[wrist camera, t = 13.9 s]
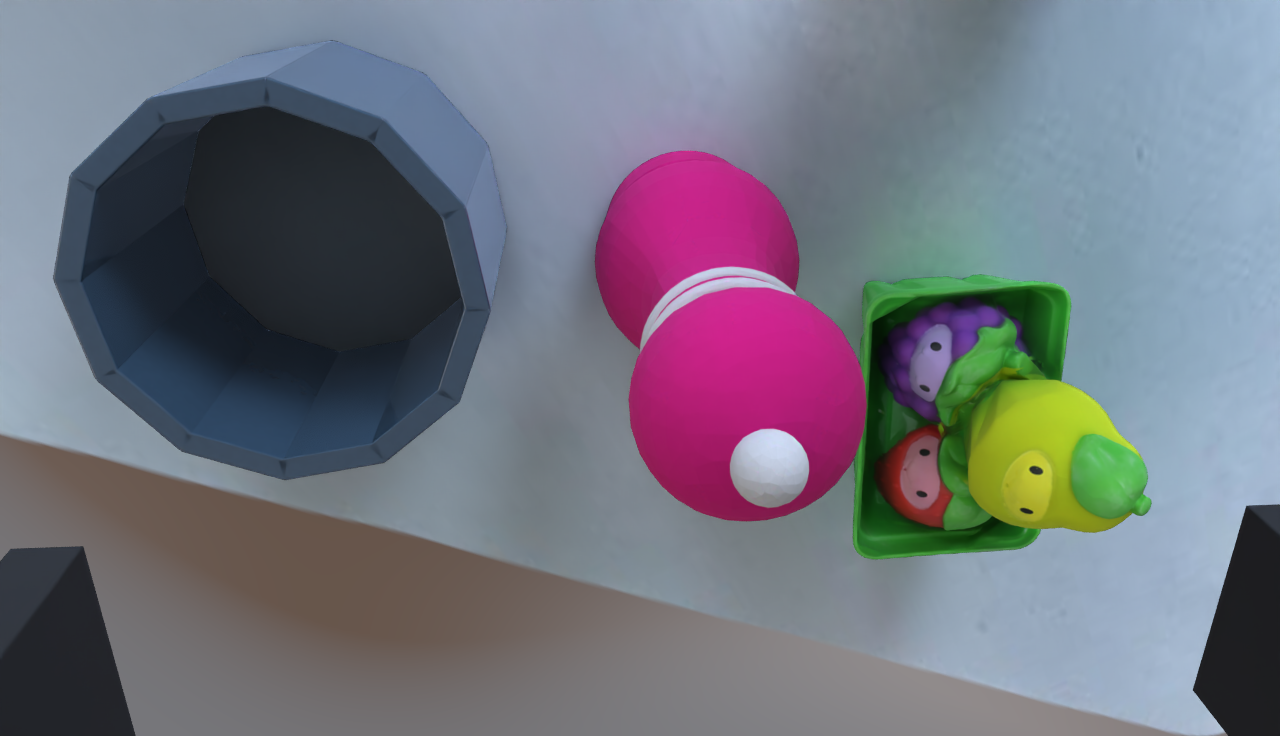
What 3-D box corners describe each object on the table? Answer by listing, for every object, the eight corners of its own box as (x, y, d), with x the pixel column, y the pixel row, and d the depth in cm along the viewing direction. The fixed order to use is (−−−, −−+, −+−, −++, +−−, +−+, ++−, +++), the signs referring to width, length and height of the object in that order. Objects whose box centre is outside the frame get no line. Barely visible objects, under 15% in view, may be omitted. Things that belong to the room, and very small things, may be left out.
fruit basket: (833, 252, 41) (919, 366, 31) (1049, 240, 42) (1205, 348, 31) (824, 496, 46) (896, 665, 36) (1018, 482, 46) (1145, 646, 36)
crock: (332, -32, 36) (261, -14, 28) (568, 233, 40) (567, 316, 32) (96, 196, 39) (-33, 274, 30) (341, 421, 43) (287, 541, 35)
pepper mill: (770, 126, 39) (944, 314, 21) (778, 303, 42) (937, 603, 24) (582, 147, 39) (591, 355, 21) (603, 323, 42) (628, 640, 24)
